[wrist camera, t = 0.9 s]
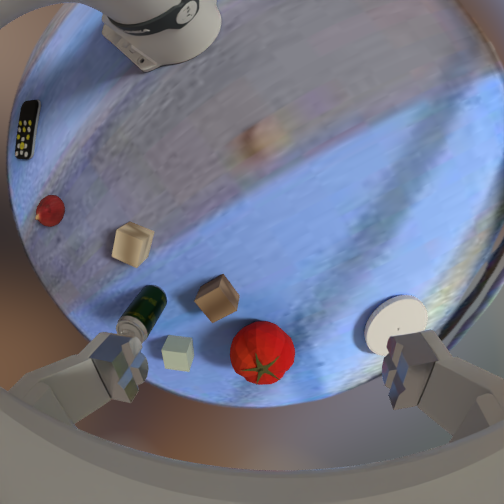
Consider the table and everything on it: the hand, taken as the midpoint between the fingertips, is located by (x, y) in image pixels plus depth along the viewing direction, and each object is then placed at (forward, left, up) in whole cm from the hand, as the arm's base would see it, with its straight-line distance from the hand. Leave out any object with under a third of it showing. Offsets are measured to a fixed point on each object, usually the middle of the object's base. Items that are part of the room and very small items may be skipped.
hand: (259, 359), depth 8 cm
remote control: (-49, -16, -37) cm, 63 cm away
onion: (-30, -25, -36) cm, 53 cm away
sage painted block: (+6, -35, -36) cm, 50 cm away
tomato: (+17, -22, -36) cm, 45 cm away
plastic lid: (+37, -4, -37) cm, 52 cm away
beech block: (-12, -20, -36) cm, 43 cm away
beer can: (-4, -28, -36) cm, 46 cm away
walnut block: (+5, -19, -36) cm, 41 cm away
